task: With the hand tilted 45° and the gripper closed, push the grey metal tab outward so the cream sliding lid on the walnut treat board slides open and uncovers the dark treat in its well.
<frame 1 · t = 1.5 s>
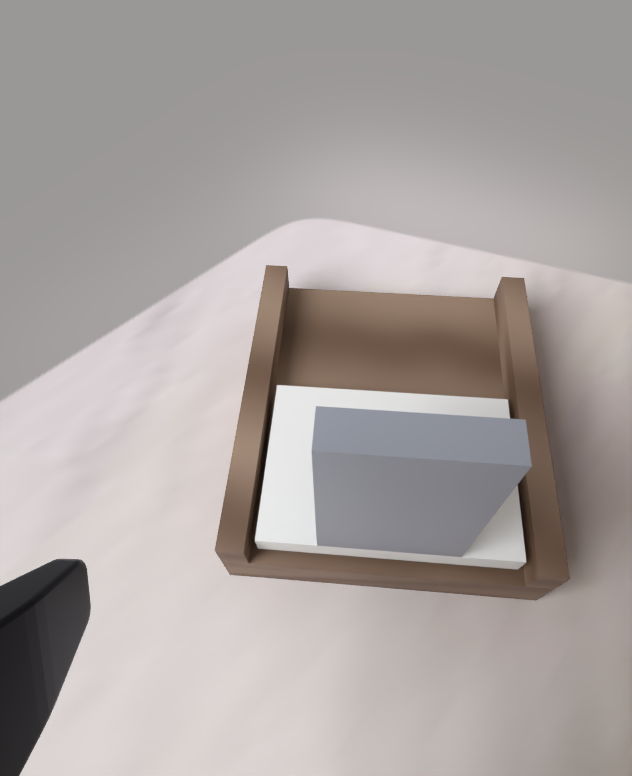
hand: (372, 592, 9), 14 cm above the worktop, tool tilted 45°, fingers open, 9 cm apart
treat board: (383, 434, 25), on the worktop
lid: (399, 423, 18), point 7 cm above the worktop, slide at 0.0 cm
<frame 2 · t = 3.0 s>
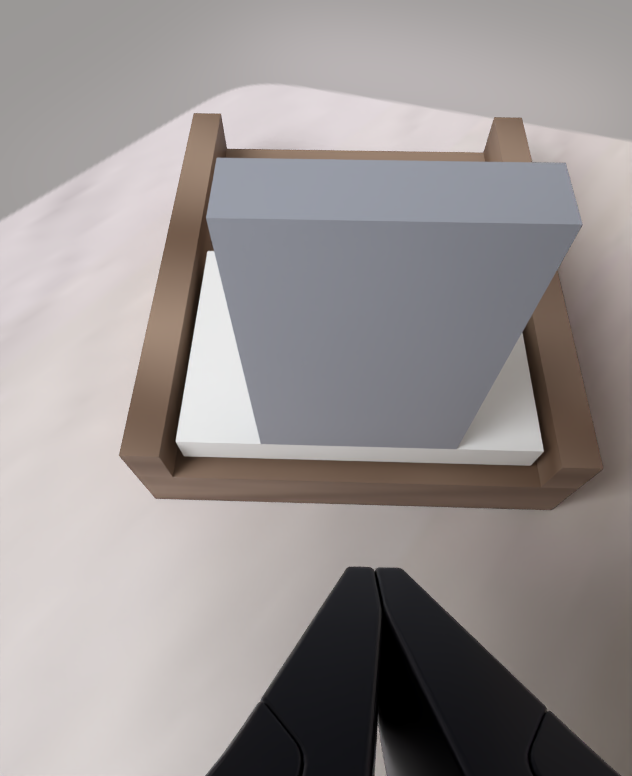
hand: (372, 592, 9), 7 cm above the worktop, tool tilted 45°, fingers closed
treat board: (351, 322, 20), on the worktop
lid: (366, 259, 13), point 7 cm above the worktop, slide at 0.0 cm
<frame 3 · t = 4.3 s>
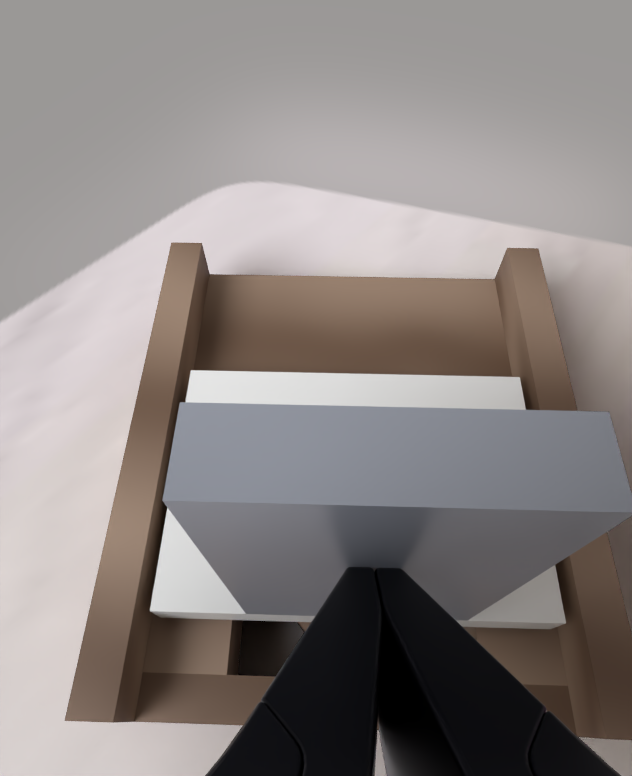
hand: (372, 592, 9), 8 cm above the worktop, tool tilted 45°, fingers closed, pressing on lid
treat board: (349, 479, 18), on the worktop
lid: (364, 421, 11), point 7 cm above the worktop, slide at 1.7 cm, touching gripper
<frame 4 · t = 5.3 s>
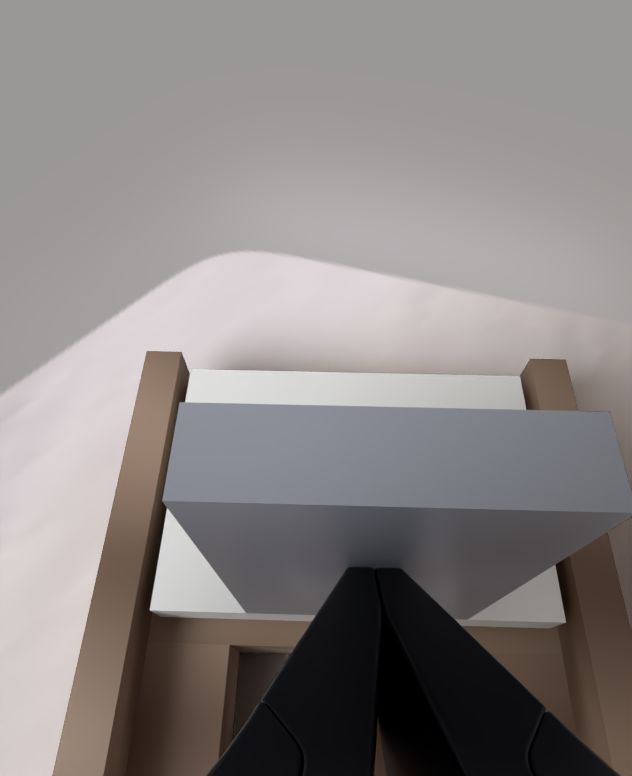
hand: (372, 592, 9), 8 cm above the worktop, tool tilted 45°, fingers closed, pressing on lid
treat board: (349, 626, 15), on the worktop
lid: (364, 420, 11), point 7 cm above the worktop, slide at 6.0 cm, touching gripper
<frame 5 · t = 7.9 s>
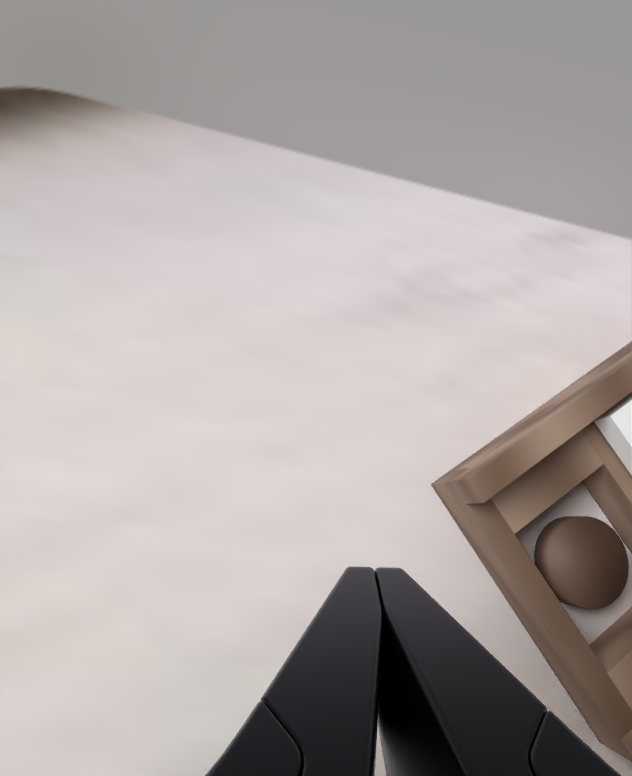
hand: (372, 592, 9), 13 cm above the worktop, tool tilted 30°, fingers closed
treat board: (624, 516, 24), on the worktop
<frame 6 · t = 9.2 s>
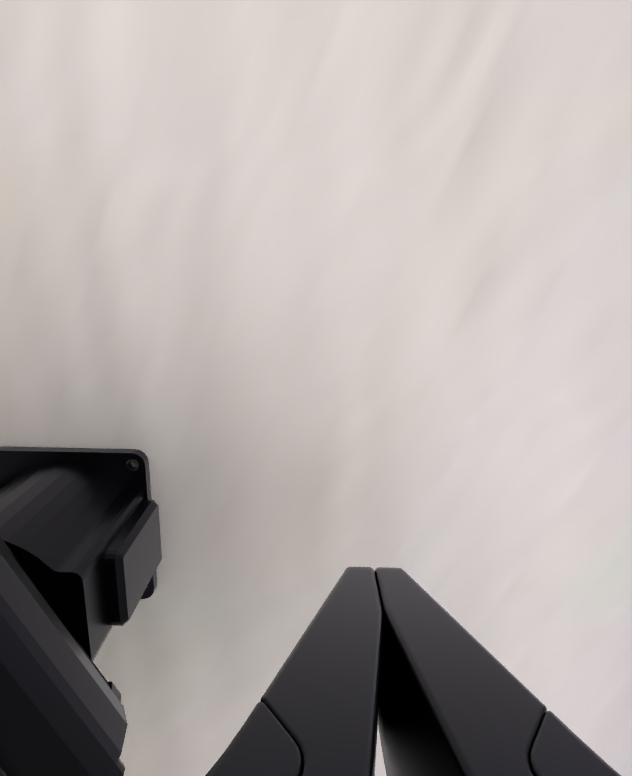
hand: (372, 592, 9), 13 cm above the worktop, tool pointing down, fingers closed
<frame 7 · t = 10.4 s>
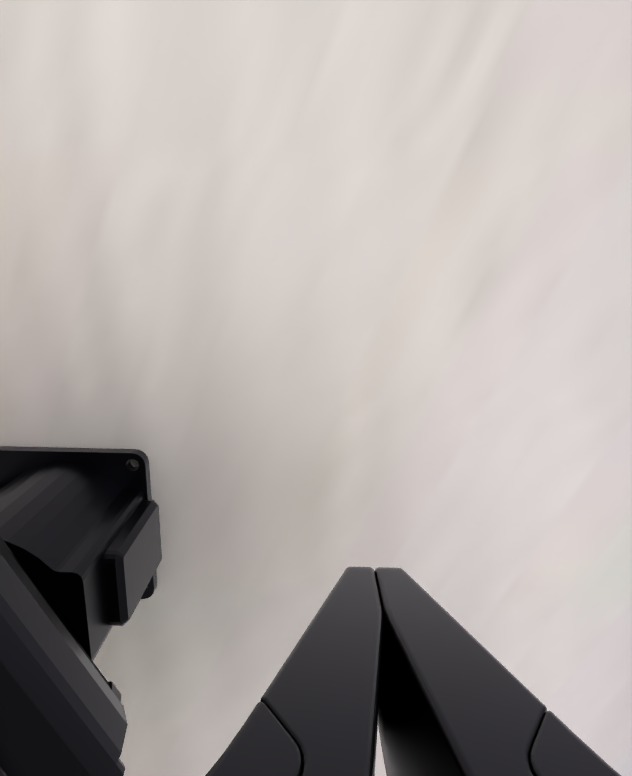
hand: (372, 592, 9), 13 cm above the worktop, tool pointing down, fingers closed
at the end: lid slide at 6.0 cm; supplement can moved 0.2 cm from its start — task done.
